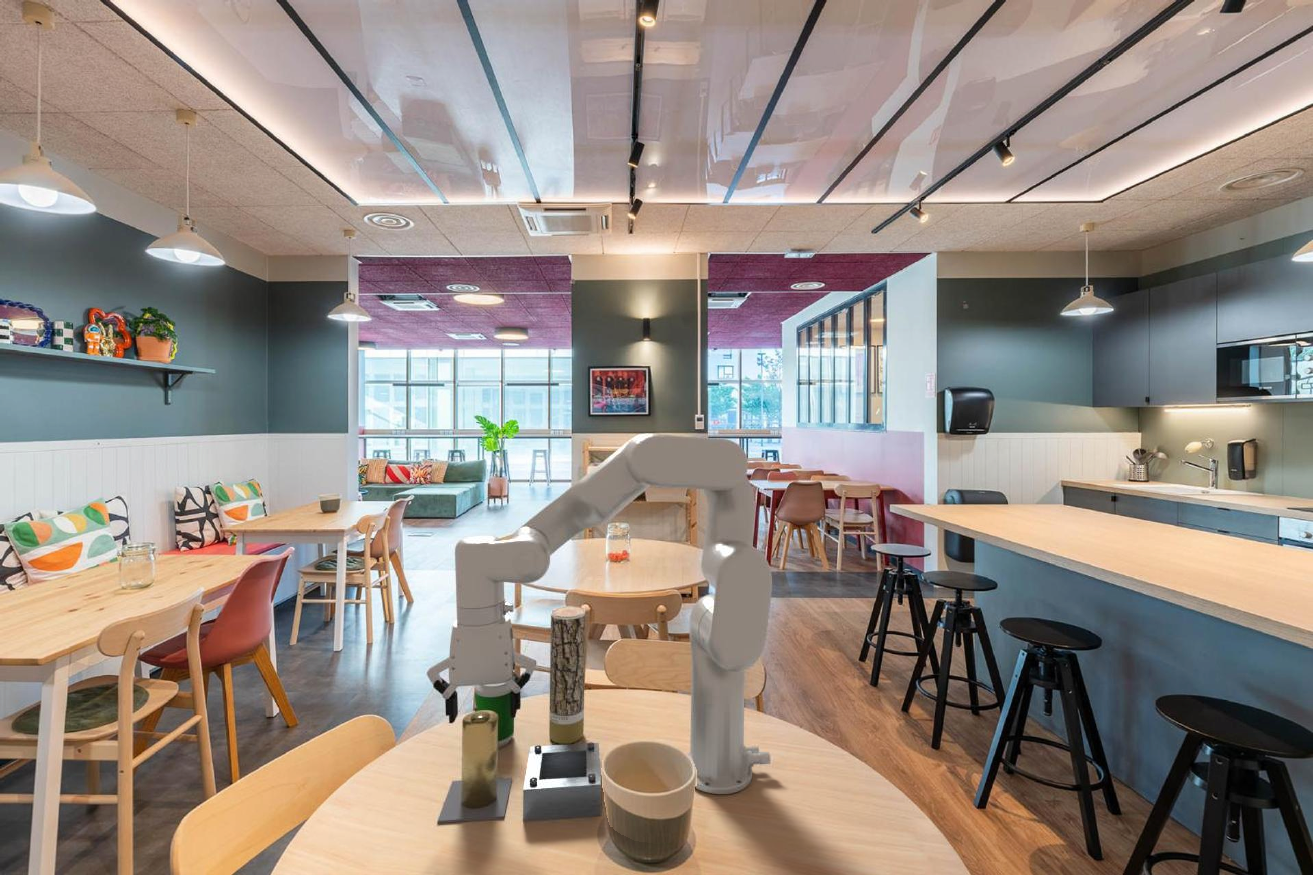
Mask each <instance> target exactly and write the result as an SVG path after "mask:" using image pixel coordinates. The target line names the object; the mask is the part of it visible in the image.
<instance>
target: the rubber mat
mask: <svg viewBox="0 0 1313 875" xmlns="http://www.w3.org/2000/svg"><path fill="white" fill-rule="evenodd" d="M512 781H513V776H510V777H508V776H507V777H497V797H496V799H495V801H494V802H493V803H491V804H490V805H488V806H486V807H483V808H479V809H469V808H466V807H464V806H463V805H462V803H461V784H462V779H461V780H452V781H451V784H450V786H449V790H448V791H447V792H448V793H447V795H446V797H445V800H444V802H443V806H442V807H441V809H440V810H441V811H440V813H439V816H438V818H437V822H436V823H437V824H448V823H449V824H450V823H451V824H452V823H462V822H474V821H475V822H478V821H488V820H489V821H492V820H500V819H501V820H503V819H505V815H506V811H507V805H508V802H509V796H510V792H511V786H512Z"/></svg>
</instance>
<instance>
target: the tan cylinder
mask: <svg viewBox="0 0 1313 875" xmlns="http://www.w3.org/2000/svg"><path fill="white" fill-rule="evenodd" d="M461 721H462V723H461V724H462V726H461V727H462V728H461V730H462V732H461V735H462V736H461V780H462V784H461V803H462V805H463V806H464V807H466V808H469V809H479V808H483V807H486V806H488V805H490V804H491V803H493V802H494V801H495V799H496V797H497V778H498V753H499V751H498V749H499V748H498V714H497V713H495V712H493V711H489V710H481V711H476V712H475V711H472V712H470V713H468V714H466V715H465V716H464V717H463V719H462V720H461Z"/></svg>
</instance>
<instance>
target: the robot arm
mask: <svg viewBox="0 0 1313 875" xmlns="http://www.w3.org/2000/svg"><path fill="white" fill-rule="evenodd" d="M748 467H749V460H748V456H747V454H746V452H745V450H744V449H743V448H742V447H741V445H739V444H738V443H737V442H735V441H733V440H731V439H728V438H714V437H713V438H712V437H699V436H698V437H696V436H695V437H692V436H681V435H669V434H664V433H663V434H662V433H650V432H649V433H640V434H638V435H636V436H634V437H632V438H630V439H629V440H627V442H625V443H624V444H622V445H621V447H619V448H618V449H617V450H616V451H614V452H613V453H612V454H610V455H609V456H608V457H607V458H606V459H604V460H603V461H602V462H601V463H600V464H599V465H597V466H596V467H595V468H593V469H592V470H591V471H589V472H588V473H587V474H586V475H584V476H583V477H581V479H580V480H578V481H577V482H576V483H575V484H573V485H572V486H570V487H569V488H568V489H567V490H566V491H564V493H562V494H561V495H560V496H558V497H557V498H555V499H554V500H553V501H552V502H550V503H549V504H548V505H546V506H545V507H544V508H542V510H540V511H538V513H536V514H535V515H534V516H533V517H531V518H530V519H529V520H528V521H526V522H525V523H524V524H523V525H521V526H520V527H519V528H518V529H516V531H514V532H513V534H512V535H511V536H510V537H509V539H508V540H507V539H506V540H501V539H500V538H499V537H496V536H495V535H494V536H493V535H476V536H470V537H469V536H468V537H465V538H463V539H460V540H459V541H458V542H457V543H456V545H455V547H454V548H455V549H454V561H455V562H454V564H455V567H454V568H455V570H454V571H455V596H456V597H455V598H456V602H455V603H456V620H455V621H454V622H453V624H452V628H451V634H450V644H449V655H448V657H447V658H445V659H442V660H441V661H439V662H438V663H436V664H435V665H433V666H431V667H430V668H428V670H427V672H426V676H427V678H428V679H429V681H430V682H431V684H432V686H433V688H434V689H435V690H436V691H437V693H440V694H441V696H442V699H444V700H445V708H444V709H445V716H446V717H448V723H449V724H453V723H454V722H456V719H457V717H458V714H459V711H458V710H459V707H458V706H459V704H458V700H459V699H458V691H457V689H458V687H474V686H476V685H487V684H498V683H506V684H507V685H508V686H509V687H510V689H511V693H510V715H511V717H512V718H514V719H515V718H516V716H517V712H518V710H521V690H522V689H523V688H524V687H525V685H527V683H528V682H529V681H530V679H531V677H532V675H533V673H534V671H535V669H536V667H537V663H538V661H537V660H535V659H533V658H531V657H529V656H527V655H524V654H522V653H519V652H517V651H516V650H515V638H514V630H513V626H512V620H511V618H510V615H507V614H509V613H514V606H515V605H514V603H509V602H507V601H506V598H505V583H508V584H509V583H510V584H511V583H512V584H531V583H534V582H537V581H539V580H540V579H542V578H543V577H544V576H545V575H546V574H547V572H548V570H549V568H550V564H551V556H552V555H553V554H554V553H555V552H556V551H558V550H559V549H560V548H561V547H562V546H564V545H565V544H566V543H567V542H569V541H570V540H572V539H573V538H574V537H576V536H577V535H578V534H580V533H582V532H583V531H586V530H588V529H591V528H593V527H599V526H601V525H603V524H606V523H607V522H609V521H610V520H611V519H613V518H614V517H615V516H617V515H618V514H619V513H620V512H622V511H623V510H624V508H626V507H627V506H628V505H630V503H632V502H633V501H634V500H635V499H637V497H639V496H640V495H642V494H643V493H645V491H647V489H649V488H650V487H659V488H669V489H681V490H682V489H685V490H702V491H703V492H704V495H705V499H706V504H707V508H706V511H707V512H706V524H705V525H706V526H705V532H704V533H705V534H704V542H703V549H702V556H701V564H700V565H701V567H700V568H701V572H702V575H703V577H704V578H705V580H706V581H707V582H708V583H709V585H710V586H711V587H713V588H714V593H709V594H705V595H704V596H702V597H700V598H699V599H698V600H697V601H696V602H695V604H694V605H693V607H692V610H691V611H690V615H689V620H688V629H689V630H688V632H689V635H688V636H689V644H690V654H691V655H690V656H691V657H690V658H691V686H690V687H691V689H690V743H689V744H690V745H689V747H690V749H689V753H687V754H686V755H688V756H690V758H691V760H693V762H694V764H695V767H696V769H697V786H696V788H695V789H697V791H698V790H699V791H701V792H704V793H707V794H713V795H730V794H733V793H734V794H735V793H737V792H740V791H741V790H744V789H745V788H746V787H748V786H749V785H750V783H751V781H752V779H753V767H754V765H770V764H771V755H770V752H769V751H760V750H759V746H757V745H756V746H747V747H746V745H745V742H744V741H745V740H744V738H745V694H746V693H745V692H746V671H747V670H749V669H751V668H752V667H753V666H754V665H755V664H756V663H757V662H758V661H759V660H760V658H761V656H762V654H763V652H764V649H765V645H766V641H767V635H768V634H767V633H768V625H769V617H770V608H771V599H772V593H773V592H772V590H773V577H772V571H771V567H770V563H769V561H768V560H767V558H766V557H765V555H764V554H763V553H762V552H761V551H760V550H758V549H757V548H755V547H754V544H753V543H754V532H755V516H756V503H755V494H754V490H753V487H752V485H751V483H750V480H749V478H748V476H747V474H748ZM516 664H517V665H519V666H522V667H523V668H525V670H524V672H522V673H521V675H520V676H518V675H517V674H516V672H514V671H515V670H516ZM447 669H448V681H449V683H448V682H447V680H445V679H444V678H442V677H441V674H440V673H442V672H444V671H446V670H447Z"/></svg>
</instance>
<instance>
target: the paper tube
mask: <svg viewBox="0 0 1313 875" xmlns="http://www.w3.org/2000/svg"><path fill="white" fill-rule="evenodd" d="M550 613H551V614H550V649H549V650H550V651H549V653H550V655H549V657H550V659H549V661H550V662H549V664H550V665H549V670H550V671H549V717H548V718H549V720H548V721H549V727H548V728H549V733H548V734H549V738H550V739H551V741H553V743H557V744H558V745H569V744H575V743H576V742H577V741H579V740H580V739H582V737H583V735H584V732H585V731H584V724H585V723H584V722H585V718H584V717H585V677H586V676H585V675H586V674H585V668H586V665H585V664H586V662H585V661H586V657H585V656H586V609H585V608H583V607H579V606H567V605H566V606H560V607H555V608H554V609H552V610H551V611H550Z"/></svg>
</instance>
